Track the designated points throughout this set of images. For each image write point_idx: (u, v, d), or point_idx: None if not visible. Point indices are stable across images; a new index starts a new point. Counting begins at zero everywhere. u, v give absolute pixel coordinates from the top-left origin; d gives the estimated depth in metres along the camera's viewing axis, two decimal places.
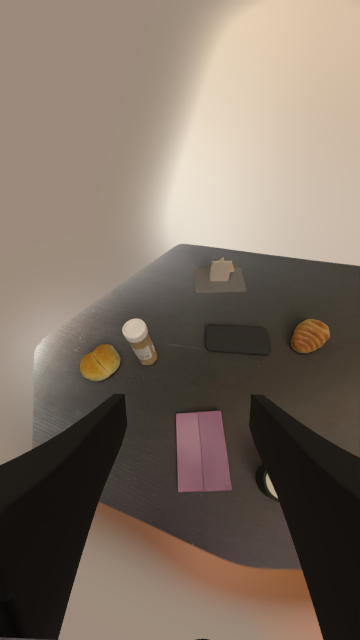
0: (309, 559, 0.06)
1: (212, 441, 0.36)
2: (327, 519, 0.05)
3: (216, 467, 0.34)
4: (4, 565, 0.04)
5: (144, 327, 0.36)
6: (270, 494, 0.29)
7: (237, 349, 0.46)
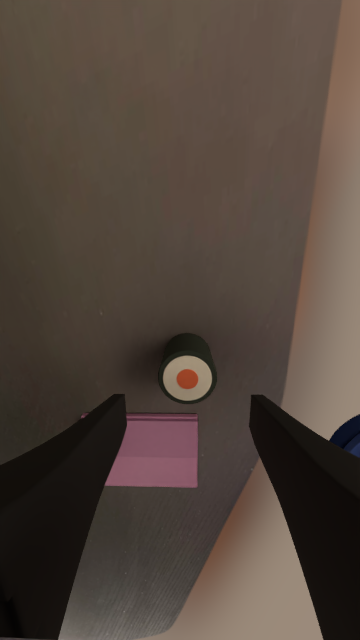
0: (309, 559, 0.06)
1: (130, 439, 0.20)
2: (327, 519, 0.05)
3: (167, 438, 0.20)
4: (4, 565, 0.04)
5: None
6: (204, 397, 0.15)
7: None
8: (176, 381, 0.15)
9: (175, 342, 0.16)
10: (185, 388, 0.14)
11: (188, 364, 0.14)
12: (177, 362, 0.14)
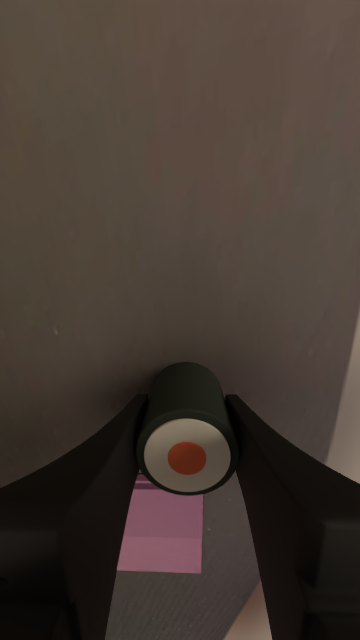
0: (263, 558, 0.06)
1: None
2: (274, 518, 0.05)
3: (158, 512, 0.14)
4: (69, 567, 0.04)
5: None
6: (215, 485, 0.08)
7: None
8: (167, 460, 0.08)
9: (167, 382, 0.10)
10: (183, 473, 0.08)
11: (188, 433, 0.08)
12: (169, 430, 0.08)
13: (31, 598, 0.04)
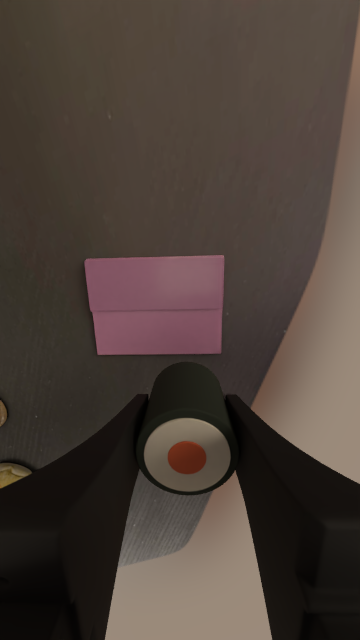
0: (263, 557, 0.06)
1: (144, 285, 0.17)
2: (274, 518, 0.05)
3: (188, 282, 0.17)
4: (69, 567, 0.04)
5: None
6: (215, 485, 0.08)
7: None
8: (167, 460, 0.08)
9: (167, 381, 0.10)
10: (183, 472, 0.08)
11: (188, 433, 0.08)
12: (168, 429, 0.08)
13: (31, 598, 0.04)
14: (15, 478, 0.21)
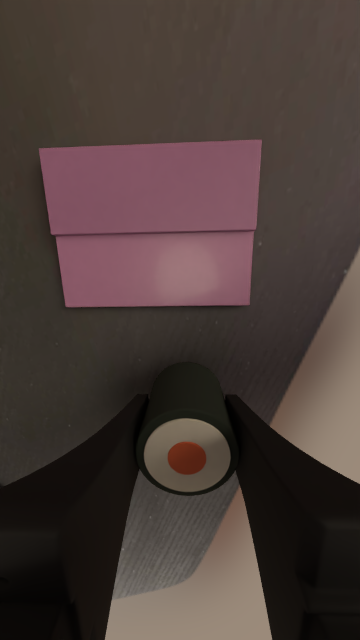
0: (263, 558, 0.06)
1: (133, 189, 0.11)
2: (274, 518, 0.05)
3: (203, 183, 0.11)
4: (69, 567, 0.04)
5: None
6: (215, 485, 0.08)
7: None
8: (167, 460, 0.08)
9: (167, 382, 0.10)
10: (183, 473, 0.08)
11: (188, 433, 0.08)
12: (168, 430, 0.08)
13: (31, 598, 0.04)
14: None
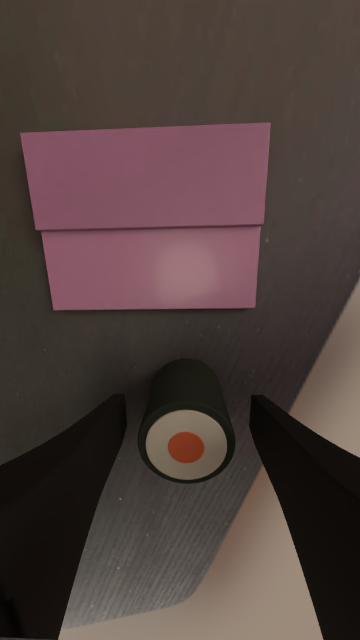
0: (309, 559, 0.06)
1: (127, 179, 0.10)
2: (327, 519, 0.05)
3: (204, 172, 0.10)
4: (4, 565, 0.04)
5: None
6: (213, 473, 0.09)
7: None
8: (167, 450, 0.09)
9: (167, 377, 0.11)
10: (182, 461, 0.09)
11: (187, 424, 0.08)
12: (169, 421, 0.08)
13: None
14: None
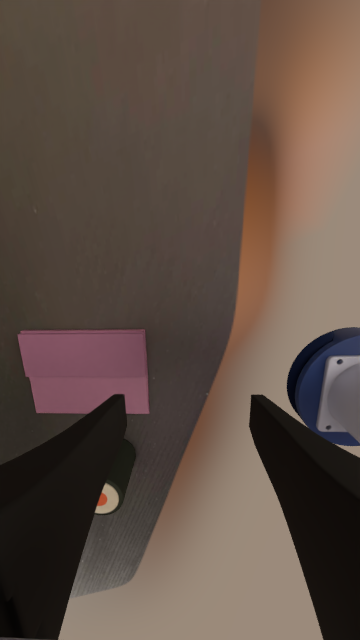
0: (309, 559, 0.06)
1: (73, 355, 0.19)
2: (327, 519, 0.05)
3: (112, 354, 0.18)
4: (4, 565, 0.04)
5: None
6: (114, 510, 0.18)
7: None
8: None
9: None
10: (97, 505, 0.18)
11: None
12: None
13: None
14: None
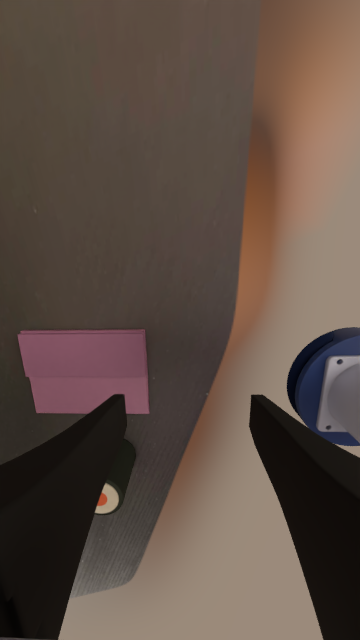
0: (309, 559, 0.06)
1: (73, 355, 0.19)
2: (327, 519, 0.05)
3: (112, 354, 0.18)
4: (4, 565, 0.04)
5: None
6: (114, 510, 0.18)
7: None
8: None
9: None
10: (97, 505, 0.18)
11: None
12: None
13: None
14: None
